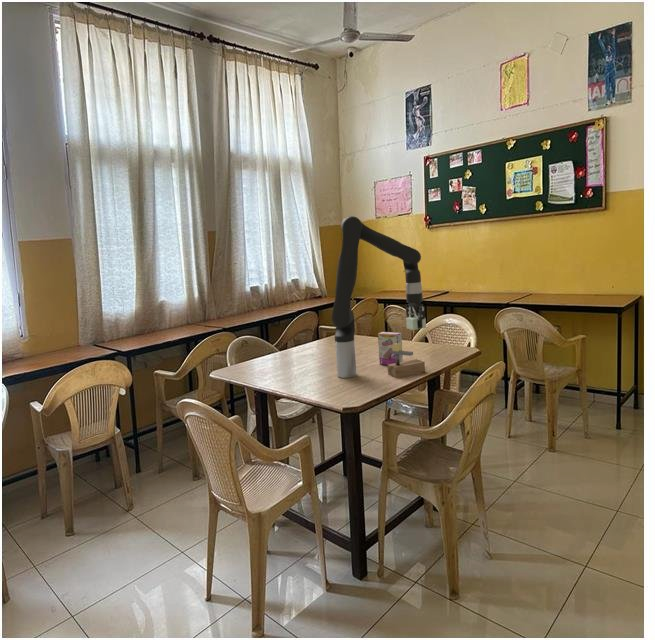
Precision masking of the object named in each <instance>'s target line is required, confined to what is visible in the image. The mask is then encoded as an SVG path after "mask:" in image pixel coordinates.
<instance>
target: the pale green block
mask: <svg viewBox="0 0 655 640" xmlns="http://www.w3.org/2000/svg"><path fill="white" fill-rule="evenodd" d="M426 320H427V319H426V317H425V319H423V320H422V328H418V324H417V321H418V320H417V317H416V316H415V317H406V318H405V324H406V329H407V330H411V331H415V330H421V329H422V330H423V329H425V328H427V324H426V323H427V321H426Z"/></svg>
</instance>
